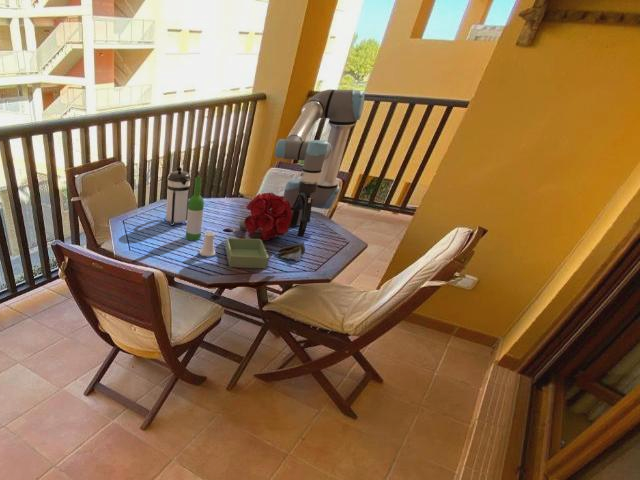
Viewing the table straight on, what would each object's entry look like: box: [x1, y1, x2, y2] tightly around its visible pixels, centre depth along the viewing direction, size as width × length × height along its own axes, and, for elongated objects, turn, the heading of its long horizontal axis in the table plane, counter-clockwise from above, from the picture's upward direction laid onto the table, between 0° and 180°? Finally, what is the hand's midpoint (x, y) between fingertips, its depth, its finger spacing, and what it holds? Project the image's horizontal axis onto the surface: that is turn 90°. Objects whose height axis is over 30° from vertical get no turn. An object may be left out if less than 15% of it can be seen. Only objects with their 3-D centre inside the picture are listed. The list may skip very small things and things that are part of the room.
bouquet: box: [238, 192, 292, 242], centre depth 199 cm, size 22×24×30 cm
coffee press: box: [163, 166, 192, 227], centre depth 216 cm, size 17×16×30 cm
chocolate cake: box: [277, 242, 306, 262], centre depth 181 cm, size 10×7×12 cm
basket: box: [224, 237, 270, 269], centre depth 182 cm, size 22×17×5 cm
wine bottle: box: [185, 177, 205, 241], centre depth 195 cm, size 8×8×30 cm
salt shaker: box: [199, 231, 216, 258], centre depth 184 cm, size 8×8×10 cm
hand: (296, 230), depth 175 cm, fingers open, 13 cm apart
